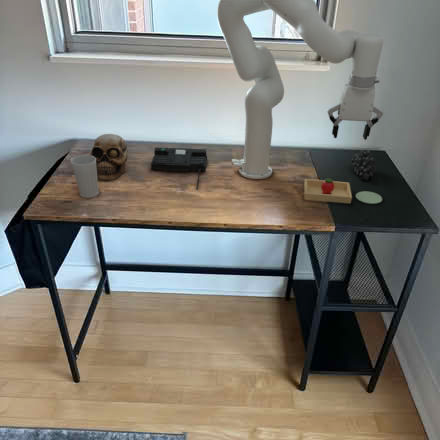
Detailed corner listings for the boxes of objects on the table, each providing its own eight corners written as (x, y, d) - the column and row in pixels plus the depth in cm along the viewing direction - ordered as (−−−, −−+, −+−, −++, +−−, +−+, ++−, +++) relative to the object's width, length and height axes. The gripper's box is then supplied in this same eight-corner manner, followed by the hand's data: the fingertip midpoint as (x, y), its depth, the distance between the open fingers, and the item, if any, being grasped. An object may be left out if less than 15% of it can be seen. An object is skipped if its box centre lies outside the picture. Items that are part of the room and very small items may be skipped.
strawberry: (320, 195, 154) (322, 182, 151) (319, 190, 158) (322, 176, 154) (333, 197, 154) (336, 183, 151) (332, 191, 157) (335, 177, 154)
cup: (105, 190, 155) (100, 157, 148) (93, 200, 149) (87, 166, 142) (85, 186, 157) (79, 153, 149) (72, 196, 151) (65, 162, 144)
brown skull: (101, 182, 159) (95, 144, 152) (84, 170, 171) (77, 134, 164) (141, 173, 167) (137, 137, 160) (121, 162, 179) (117, 128, 172)
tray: (303, 200, 153) (305, 193, 151) (303, 186, 161) (304, 178, 160) (350, 204, 151) (352, 197, 149) (347, 189, 160) (349, 182, 158)
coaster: (356, 203, 152) (356, 202, 151) (354, 191, 159) (354, 190, 158) (383, 206, 151) (384, 204, 151) (380, 194, 158) (380, 192, 158)
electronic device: (144, 187, 158) (143, 174, 154) (157, 154, 181) (156, 142, 178) (203, 189, 157) (203, 176, 154) (207, 156, 181) (208, 143, 178)
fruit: (376, 161, 158) (372, 144, 169) (352, 166, 160) (349, 149, 171) (379, 183, 163) (374, 165, 174) (355, 187, 165) (352, 170, 176)
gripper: (387, 79, 138) (374, 134, 148) (331, 77, 138) (321, 132, 149) (393, 86, 132) (378, 143, 143) (334, 83, 133) (324, 140, 143)
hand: (349, 137), depth 146 cm, fingers open, 9 cm apart
